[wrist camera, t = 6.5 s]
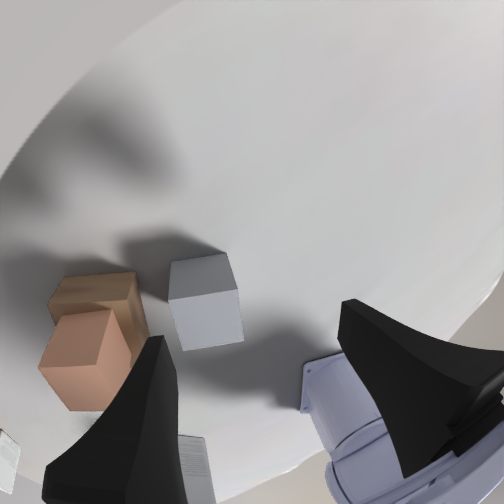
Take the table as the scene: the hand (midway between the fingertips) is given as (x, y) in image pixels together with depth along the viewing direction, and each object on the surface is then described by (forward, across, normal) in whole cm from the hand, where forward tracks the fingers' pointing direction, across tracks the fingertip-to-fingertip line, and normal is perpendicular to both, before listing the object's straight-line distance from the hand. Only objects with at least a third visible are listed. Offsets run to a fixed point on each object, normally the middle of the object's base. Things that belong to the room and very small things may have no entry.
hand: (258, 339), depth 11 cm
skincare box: (+11, +9, +27) cm, 30 cm away
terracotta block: (+7, +10, +4) cm, 13 cm away
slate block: (+10, +2, +3) cm, 11 cm away
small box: (+11, +44, +28) cm, 53 cm away
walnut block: (+11, +10, +4) cm, 15 cm away
